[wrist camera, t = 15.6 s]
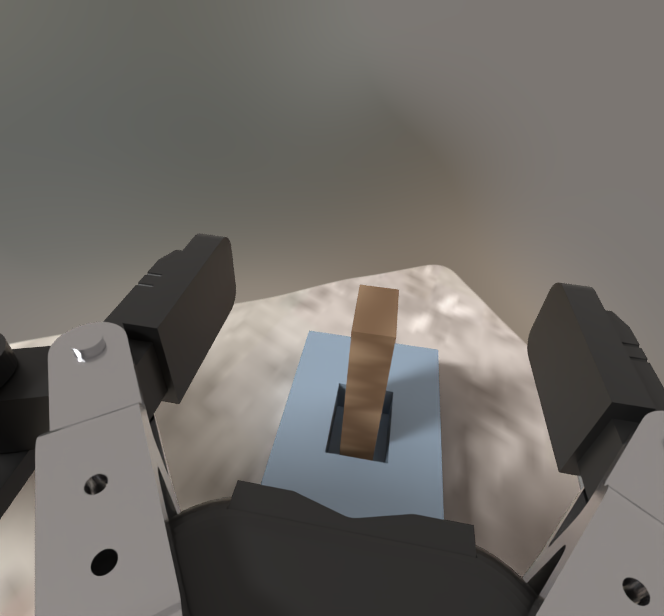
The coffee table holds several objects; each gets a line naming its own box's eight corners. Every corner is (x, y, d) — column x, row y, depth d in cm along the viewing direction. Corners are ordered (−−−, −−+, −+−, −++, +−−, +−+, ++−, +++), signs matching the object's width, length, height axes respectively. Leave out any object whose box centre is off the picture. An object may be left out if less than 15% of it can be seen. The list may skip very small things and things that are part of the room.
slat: (338, 464, 33) (351, 331, 24) (345, 416, 36) (359, 284, 27) (370, 470, 32) (396, 337, 24) (375, 421, 36) (398, 289, 27)
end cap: (253, 550, 29) (248, 523, 26) (308, 360, 42) (309, 330, 40) (432, 587, 27) (445, 563, 25) (429, 378, 41) (438, 349, 39)
